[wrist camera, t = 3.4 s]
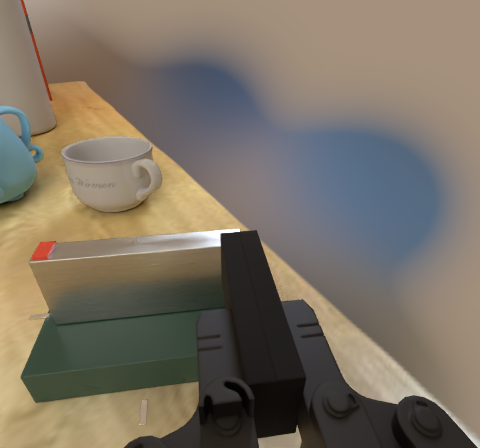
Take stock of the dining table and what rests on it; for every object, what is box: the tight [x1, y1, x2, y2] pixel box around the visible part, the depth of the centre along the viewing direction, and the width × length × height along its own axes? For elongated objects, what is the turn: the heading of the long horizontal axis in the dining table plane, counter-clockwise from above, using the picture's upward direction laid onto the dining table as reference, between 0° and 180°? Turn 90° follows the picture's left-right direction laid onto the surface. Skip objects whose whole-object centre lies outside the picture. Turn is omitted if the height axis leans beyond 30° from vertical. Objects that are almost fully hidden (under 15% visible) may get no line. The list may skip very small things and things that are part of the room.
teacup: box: [61, 136, 162, 212], centre depth 44 cm, size 14×11×8 cm
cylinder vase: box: [0, 0, 56, 137], centre depth 66 cm, size 12×12×25 cm
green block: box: [21, 307, 225, 426], centre depth 27 cm, size 18×18×3 cm
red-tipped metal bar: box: [29, 229, 240, 325], centre depth 25 cm, size 14×2×6 cm, turn 98°
